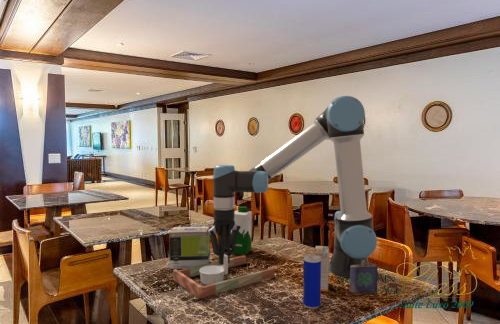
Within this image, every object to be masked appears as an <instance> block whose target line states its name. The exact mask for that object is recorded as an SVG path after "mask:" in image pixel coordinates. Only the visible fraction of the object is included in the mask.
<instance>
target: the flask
mask: <svg viewBox="0 0 500 324" xmlns="http://www.w3.org/2000/svg"><path fill="white" fill-rule="evenodd" d="M378 268H379V266H378V265H377V264H375V263H372V262H371V263H366V262H365V260H364V259H362V262H361V264H359V265H351V266H350V278H349V293H351V294H354V295H355V294H356V295H358V294H363V295H364V294H369V293H370V294H373V293H374V294H376V293H377V292H378V273H379V272H378Z"/></svg>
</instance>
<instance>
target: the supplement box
mask: <svg viewBox="0 0 500 324" xmlns="http://www.w3.org/2000/svg"><path fill="white" fill-rule="evenodd" d="M314 247H315V248H314V255H318V256H320V259H321V292H325V293H326V292H327V293H328V292H329V279H330V276H329V275H330V274H329V273H330V270H329V264H330V252H329V251H330V250H329V246H325V245H324V246H323V245H315V246H314Z"/></svg>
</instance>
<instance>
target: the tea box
mask: <svg viewBox="0 0 500 324" xmlns="http://www.w3.org/2000/svg"><path fill="white" fill-rule="evenodd" d="M208 229H210V226H207V225H206V226H204V225H203V226H174V227H172V229H171V230H170V231H169V232H168V234H169V235H168V236H169V237H168V238H169V239H168V241H169V245H168V246H169V269H170V270H175V269H177V270H182V269H187V268H191V267H195V266H200V265H204V264H209V263H211V239H210V235H209V233H208V232H207V230H208Z"/></svg>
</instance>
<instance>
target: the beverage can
mask: <svg viewBox="0 0 500 324" xmlns="http://www.w3.org/2000/svg"><path fill="white" fill-rule="evenodd" d="M302 267H303V275H302V276H303V277H302V278H303V283H302V286H303V288H302V289H303V291H302V304H303V305H304V307H305V308H308V309H310V310H311V309H313V310H314V309H319V308H320V307H321V299H322V298H321V294H322V293H321V292H322V291H321V259H320V256H318V255H315V253H314V254H313V253H312V254H311V253H310V254H305V255H304V257H303V266H302Z"/></svg>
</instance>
